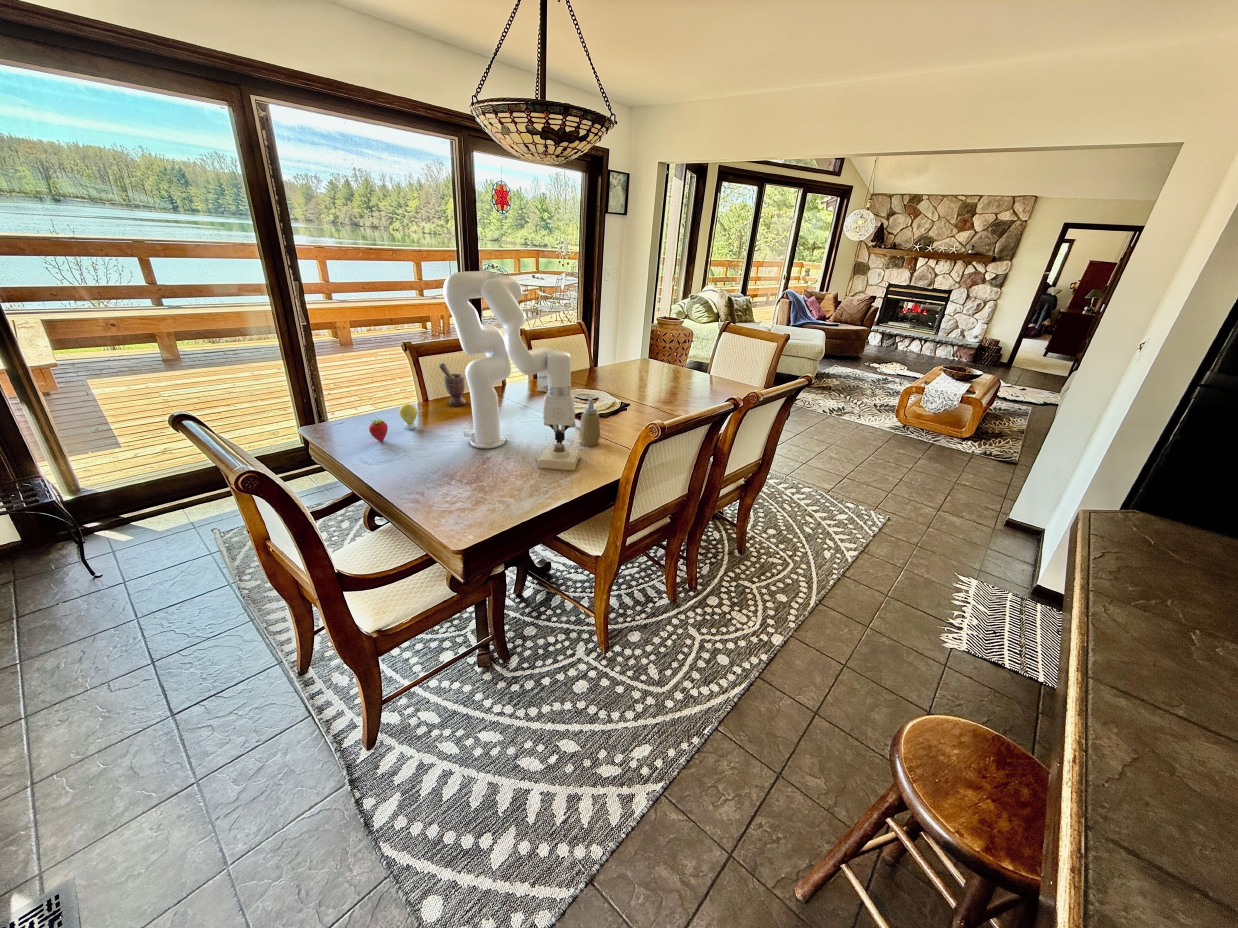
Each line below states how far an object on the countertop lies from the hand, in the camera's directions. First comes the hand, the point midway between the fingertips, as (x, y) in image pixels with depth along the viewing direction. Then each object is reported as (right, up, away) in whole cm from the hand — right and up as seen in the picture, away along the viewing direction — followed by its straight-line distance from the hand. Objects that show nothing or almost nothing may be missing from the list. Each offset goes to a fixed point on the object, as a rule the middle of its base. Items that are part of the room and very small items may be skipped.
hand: (559, 441), depth 164 cm
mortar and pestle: (-54, +19, +54) cm, 79 cm away
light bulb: (-63, +6, +26) cm, 68 cm away
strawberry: (-68, 0, +13) cm, 69 cm away
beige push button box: (-1, -7, +4) cm, 8 cm away
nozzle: (0, -3, +2) cm, 3 cm away
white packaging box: (-17, +30, +81) cm, 88 cm away
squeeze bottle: (+9, 0, +20) cm, 22 cm away
